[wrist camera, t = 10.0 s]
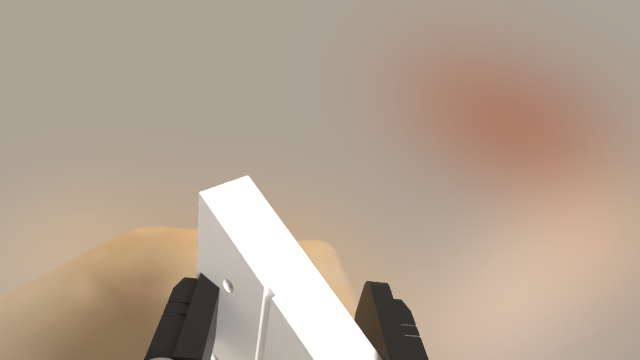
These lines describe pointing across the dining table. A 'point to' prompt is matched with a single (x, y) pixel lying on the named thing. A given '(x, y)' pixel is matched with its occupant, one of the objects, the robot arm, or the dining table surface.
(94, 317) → the dining table surface
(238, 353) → the white angled block
